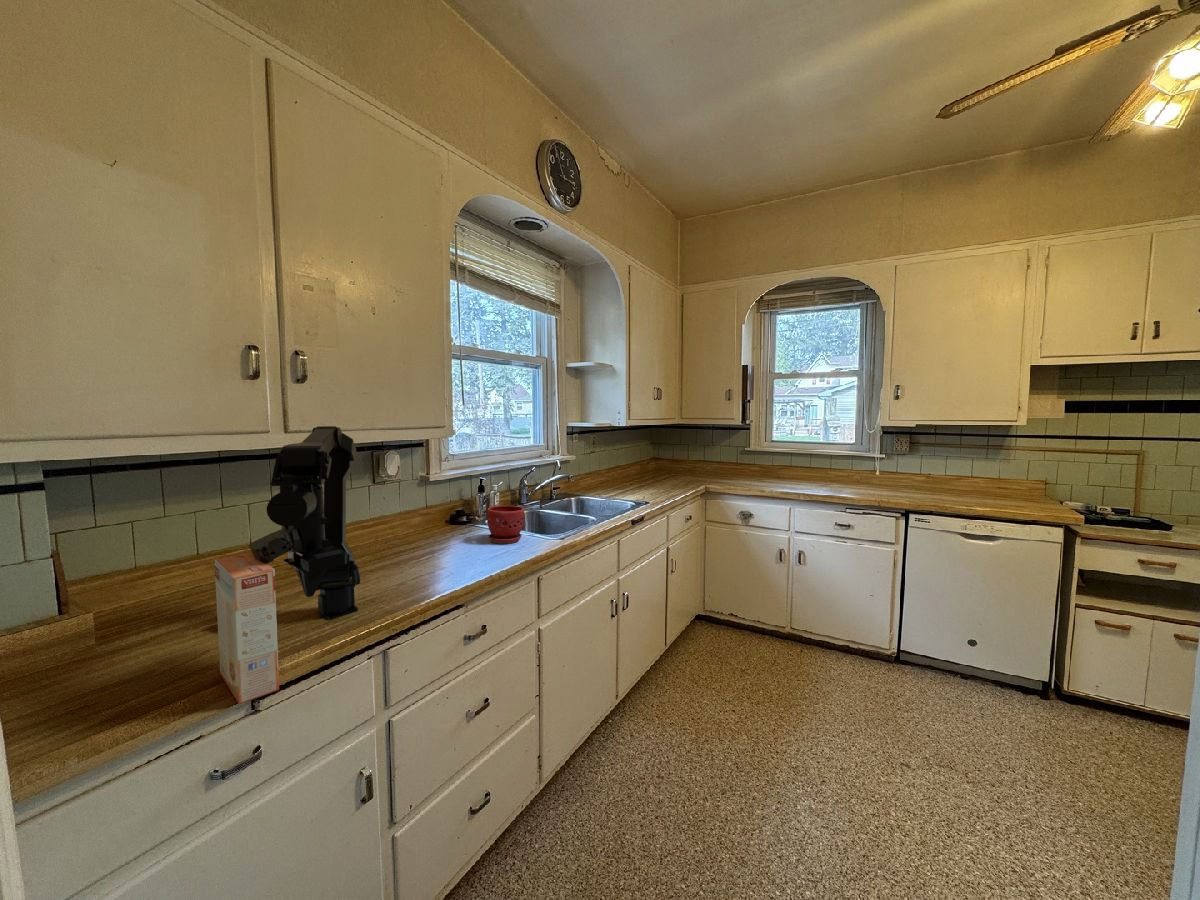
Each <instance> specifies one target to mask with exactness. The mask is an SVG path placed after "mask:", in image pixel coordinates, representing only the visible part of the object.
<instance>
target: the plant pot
mask: <svg viewBox="0 0 1200 900" xmlns="http://www.w3.org/2000/svg"><path fill="white" fill-rule="evenodd" d="M486 519H487V527H488V530H489V533H490V534H489V535H488V539H489V540H490V541H491V542H492V543H495V544H497V543H499V544H501V543H506V544H512V543H516V542H519V540H521V538H522V534H521V533H522V532H521V531H522V529H523V526H524V519H525V508H524V507H522V506H519V505H494V506H490V507H487V512H486ZM497 520H498V521H497ZM512 520H513V521H512Z"/></svg>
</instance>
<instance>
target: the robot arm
mask: <svg viewBox="0 0 1200 900" xmlns="http://www.w3.org/2000/svg"><path fill="white" fill-rule="evenodd" d="M356 461H357V446H356V444H355V441H354V439H353V438H352V437H350V436H348V435H347V434H345V433H343V431H342V429H341V427H337V426H336V425H335V426H334V425H333V426H331V425H330V426H329V425H328V426H327V425H324V426H323V425H320V426H319V425H318V426H316V427H313V428H312V431H311V433H309V434H308V436H306V437H305V439H304V440H303V441H302V442H296V443H289V444H285V445H283V446H282V447H281V448H280V450H279V451H278V452H277V453H276V456H275V463H274V467H273V473H272V476H271V480H270V481H271V482H270V485H271V487H279V492H278V493H277V494H275V495H273V496H272V497H271V498H270V499H269V501H268V503H267V506H266V513H267V514H266V515H267V517H268V518H269V519H270V520H271V521H272V523H274V524H275V525H278V526H281V528H280V529H279V530H276V531H274V532H271V533H269V534H267V535H265V536H263V537H260V538H258V539H256V540H255V541H253V542H251V543H249V544H248V548H249V549H250V552H251V553H253V555H254V557H255V559H257V560H259V561H260V562H262V563H266V564H268V565H269V564H270V563H272V562H274V560H276V559H277V558H279V557H281V556H284V555H285V554H287V558H285V559H283V560H282V562H284V563H286V564H288V565H289V566H290V567H292V568H294V570H295V572H296V575H297V577H298V580H299V582H300V585H301V588H302V590H303V593H304V596H305V597H307V598H311V597H314V595H315V593H316V591H319V594H318V595H317V607H318V609H317V613H318V614H321V615H322V616H323V617H325V618H326V619H328V620H331V619H335V618H337V617H338V618H339V617H340V616H344V615H347V614H350V613H353V612H357V611H358V610H359V607H358V606H357V605H356V603H355V600H356V599H355V588H356V586H357V585H360V584H361V583H362V582H361V571H360V568H359V566H358V565H357V561H356V560H355V559H354V552H353V550H352V549H351V548H350V546H349V545H348V544H347V540H346V536H347V535H346V531H347V528H346V526H347V523H346V522H347V520H346V518H347V517H346V515H347V514H346V513H347V511H346V509H347V505H346V503H347V490H346V489H347V479H348V477H349V476H350V474H351V473H352V471H353V470H354V464H355V462H356Z"/></svg>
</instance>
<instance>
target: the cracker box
mask: <svg viewBox="0 0 1200 900" xmlns="http://www.w3.org/2000/svg"><path fill="white" fill-rule="evenodd" d="M213 567H214V578H215V579H214V580H215V581H214V582H215V594H216V595H215V596H216V597H215V598H216V617H217V629H218V630H217V635H218V637H217V638H218V659H219V674H220V675H221V677H222V679H223V681H224V682H225V684H226V685H227V687H228V688H229V690H230V693H232V695H233V697H234V699H235V700H236V703H237V704H238V705H241V704H244V703H247V702H250V701H252V700H255V699H258V698H261V697H264V696H267V695H269V694H271V693H275V692H277V691H279V690H280V677H279V675H280V674H279V656H278V655H279V653H278V651H279V650H278V630H277V629H278V628H277V627H278V626H277V622H278V621H277V607H276V603H277V602H276V574H275V573H276V572H275V568H273V567H272V566H270V565H269V563H268V564H266V563H262V562H260V561H259V560H257V559H255V557H254V555H253V553H252V552H250V553H249V552H247V553H246V552H245V553H240V554H236V555H231V556H226V557H225V556H224V557H220V558H215V559H214V566H213Z"/></svg>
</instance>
